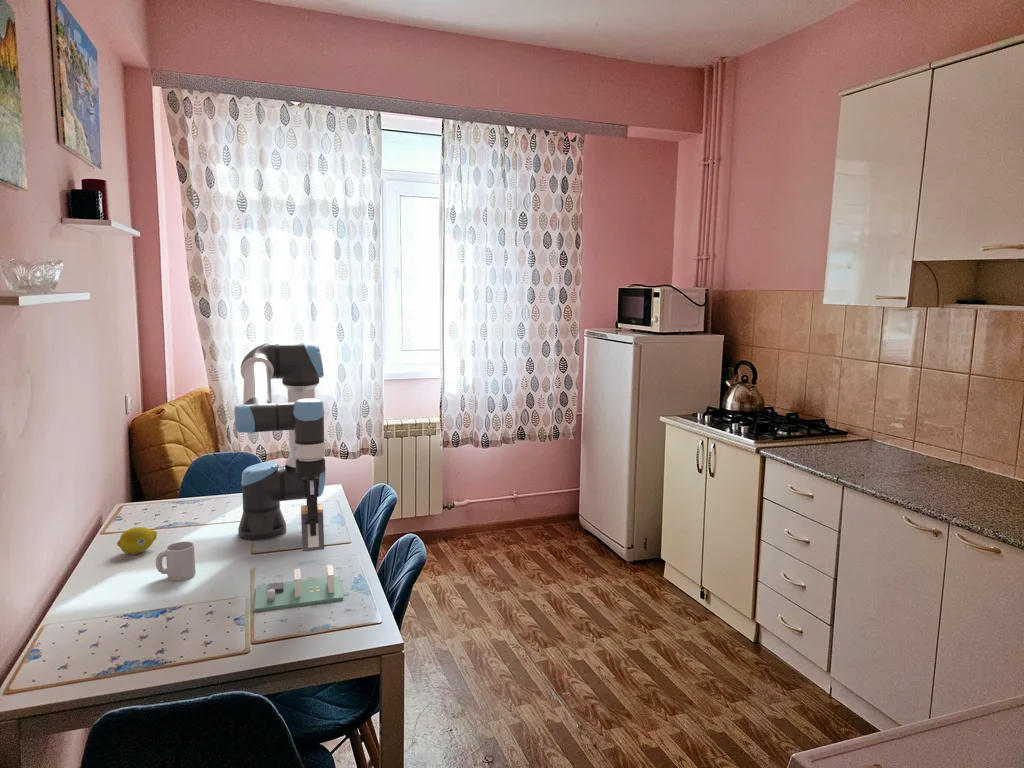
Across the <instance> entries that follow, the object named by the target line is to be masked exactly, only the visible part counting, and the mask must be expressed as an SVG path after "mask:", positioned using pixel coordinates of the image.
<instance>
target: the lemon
mask: <svg viewBox="0 0 1024 768" xmlns="http://www.w3.org/2000/svg"><path fill="white" fill-rule="evenodd" d="M157 535H158V532H157V531H156V530H155V529H151V528H148V527H144V526H136V527H131V528H129V529H125V531H123V533H122V534H121V535H120V539H119V540H117V543H116V545H117V546H118V547H119V549H120V550H121V551H122V552H123V553H125V554H128V555H136V554H140V553H144V552H145V551H146V550H148V549H149V548H150V547H151V546H152V545H153V543H154V542H155V541H156V540H157Z"/></svg>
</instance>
